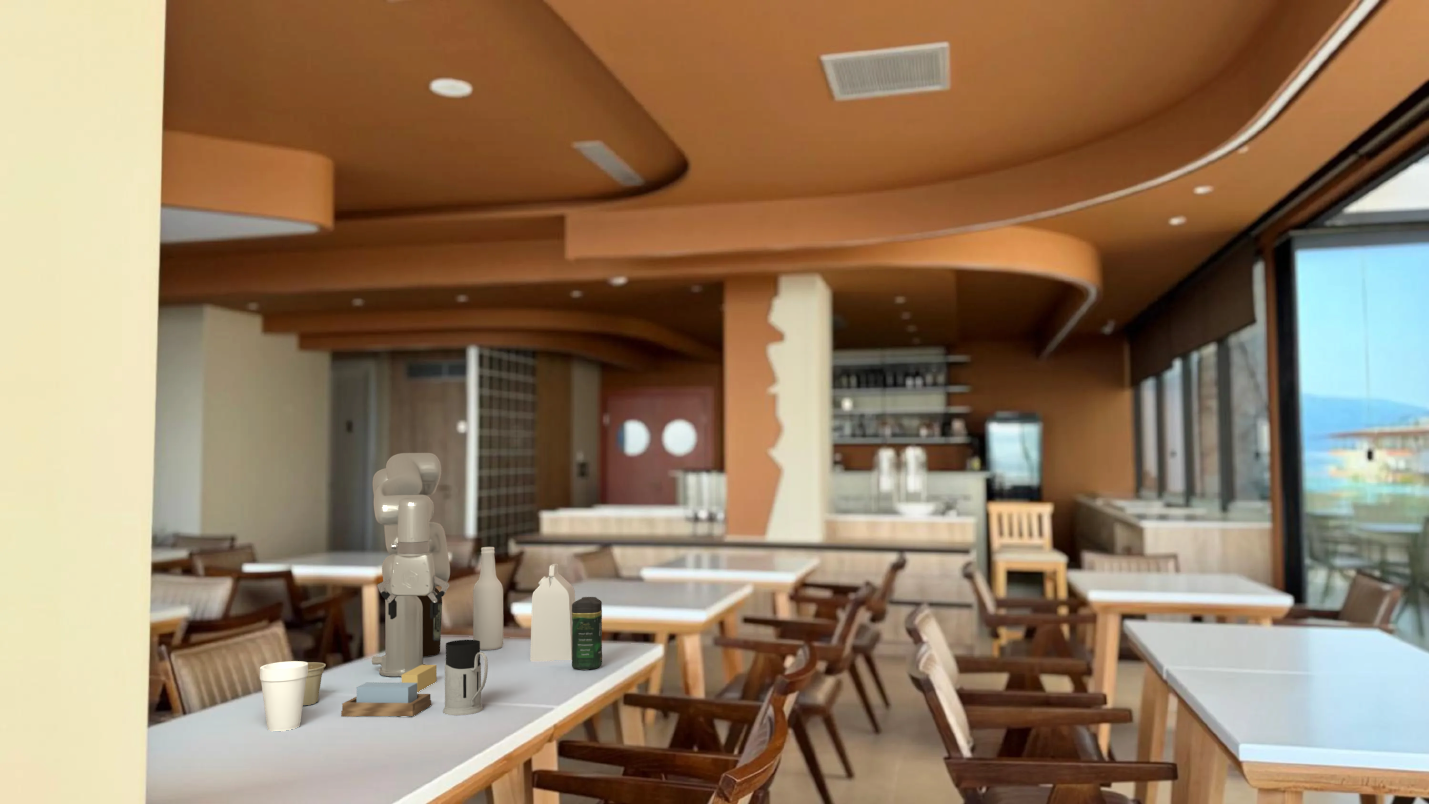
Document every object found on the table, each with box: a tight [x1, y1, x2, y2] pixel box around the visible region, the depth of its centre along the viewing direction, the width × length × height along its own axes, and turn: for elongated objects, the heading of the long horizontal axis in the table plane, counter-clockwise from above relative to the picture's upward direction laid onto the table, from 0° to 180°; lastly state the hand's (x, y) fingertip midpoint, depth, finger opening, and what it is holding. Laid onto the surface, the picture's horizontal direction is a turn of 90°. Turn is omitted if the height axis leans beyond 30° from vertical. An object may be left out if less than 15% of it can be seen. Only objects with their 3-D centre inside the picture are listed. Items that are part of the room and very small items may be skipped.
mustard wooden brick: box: [401, 664, 438, 693], centre depth 250 cm, size 4×12×4 cm, turn 174°
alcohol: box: [472, 546, 504, 651], centre depth 303 cm, size 9×9×30 cm
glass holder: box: [442, 639, 489, 716], centre depth 224 cm, size 9×14×15 cm, turn 45°
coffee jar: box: [571, 596, 603, 671], centre depth 271 cm, size 10×8×19 cm
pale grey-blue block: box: [356, 681, 418, 703], centre depth 226 cm, size 12×5×4 cm, turn 83°
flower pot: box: [303, 661, 327, 706], centre depth 235 cm, size 9×9×9 cm
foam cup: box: [259, 660, 309, 732], centre depth 213 cm, size 10×9×13 cm
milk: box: [529, 563, 576, 662], centre depth 287 cm, size 12×12×26 cm
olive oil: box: [417, 586, 443, 658], centre depth 294 cm, size 11×11×25 cm
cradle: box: [340, 693, 432, 717], centre depth 226 cm, size 16×10×3 cm, turn 83°
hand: (413, 618), depth 247 cm, fingers open, 9 cm apart
